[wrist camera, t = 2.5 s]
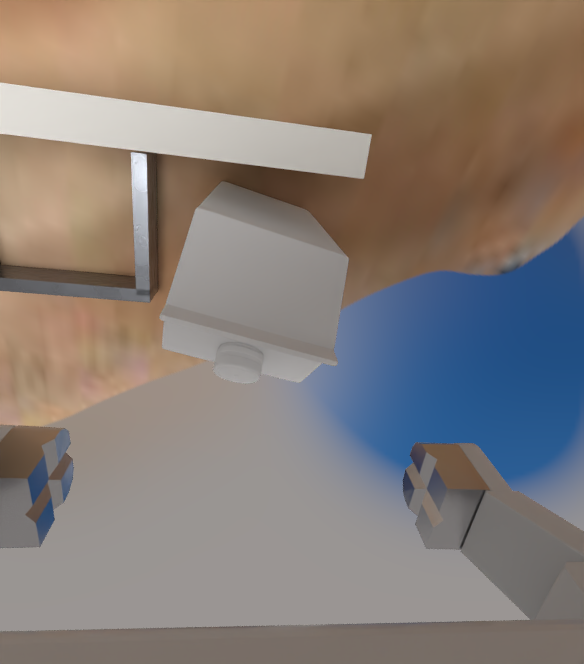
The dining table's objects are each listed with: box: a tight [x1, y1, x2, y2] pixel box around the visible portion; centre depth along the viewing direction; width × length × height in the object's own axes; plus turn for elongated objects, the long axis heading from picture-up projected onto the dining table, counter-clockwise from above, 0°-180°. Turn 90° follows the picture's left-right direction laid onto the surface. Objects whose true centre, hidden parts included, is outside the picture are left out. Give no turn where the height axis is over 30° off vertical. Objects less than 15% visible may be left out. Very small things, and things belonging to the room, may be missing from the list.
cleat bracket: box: [0, 152, 158, 303], centre depth 30 cm, size 13×10×3 cm
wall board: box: [0, 83, 372, 179], centre depth 24 cm, size 26×2×12 cm, turn 83°
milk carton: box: [159, 181, 349, 384], centre depth 24 cm, size 7×7×19 cm
